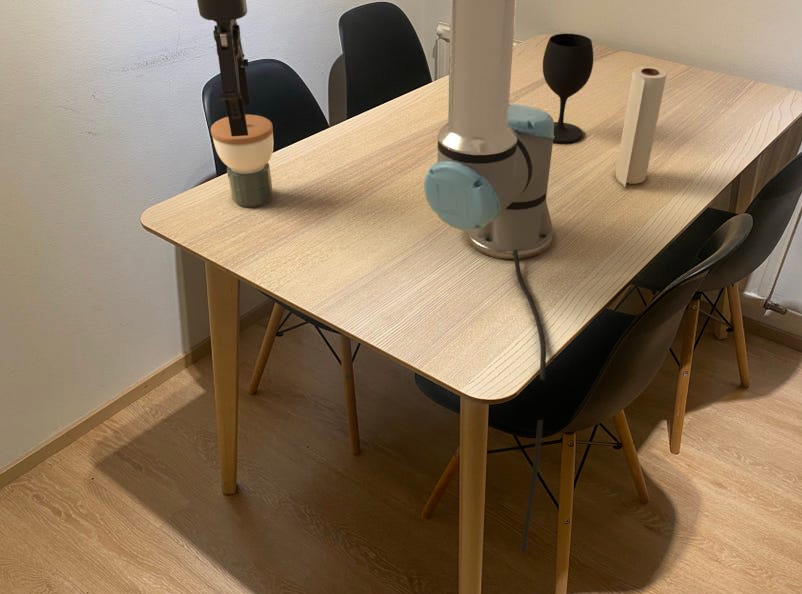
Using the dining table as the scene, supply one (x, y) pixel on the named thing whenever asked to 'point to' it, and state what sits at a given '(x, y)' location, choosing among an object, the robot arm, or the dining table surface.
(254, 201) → the grey-green hollow cylinder
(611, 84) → the dining table surface
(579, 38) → the wine glass
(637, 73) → the paper towel roll
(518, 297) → the dining table surface
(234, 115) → the robot arm
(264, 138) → the trinket box
